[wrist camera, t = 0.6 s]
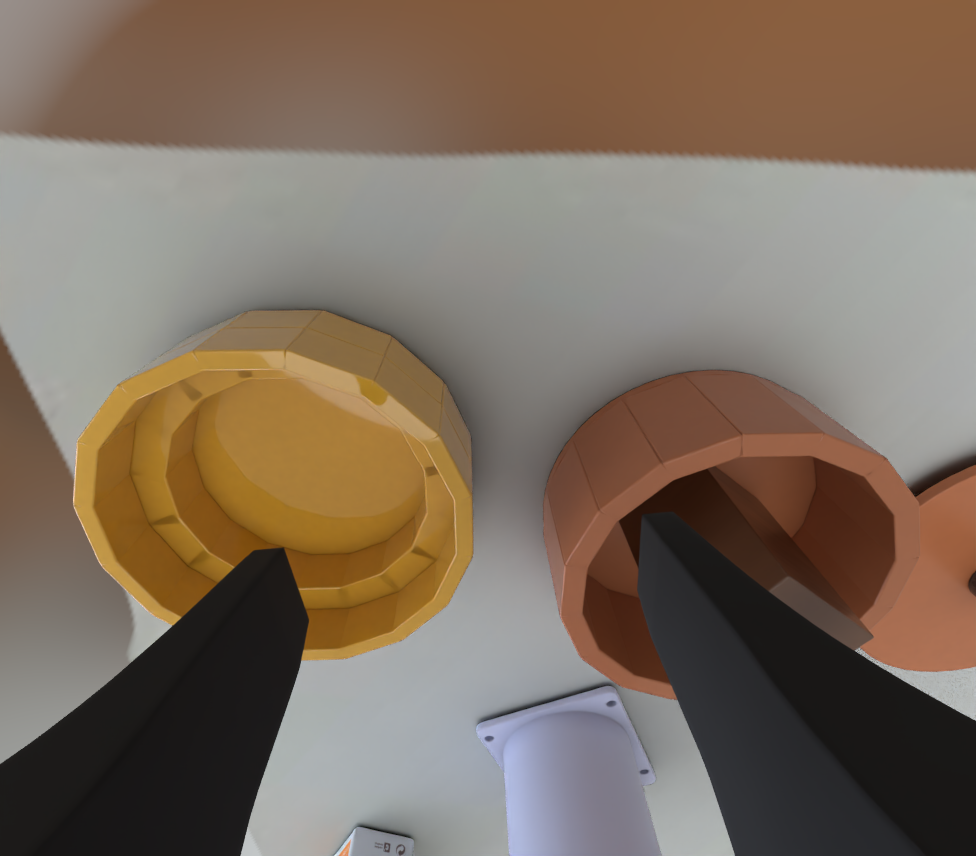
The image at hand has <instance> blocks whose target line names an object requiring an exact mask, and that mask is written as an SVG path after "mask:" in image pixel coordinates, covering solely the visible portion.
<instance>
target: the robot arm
mask: <svg viewBox="0 0 976 856" xmlns="http://www.w3.org/2000/svg"><path fill="white" fill-rule="evenodd" d="M637 591H638V595H639V598H640V602H641V605H642V609H643V612H644V616H645V619H646V623H647V626H648V629H649V632H650V636H651V639H652V641H653V643H654V646H655V648H656V651H657V653H658V655H659V658H660V660H661V663H662V665H663V667H664V670H665V672H666V674H667V677H668V679H669V681H670V684H671V686H672V688H673V691H674V693H675V695H676V698H677V700H678V702H679V705H680V707H681V709H682V712H683V714H684V716H685V719H686V721H687V723H688V726H689V728H690V730H691V733H692V735H693V737H694V740H695V742H696V744H697V747H698V749H699V751H700V754H701V756H702V759H703V762H704V764H705V767H706V769H707V772H708V775H709V777H710V780H711V783H712V786H713V789H714V792H715V795H716V798H717V801H718V804H719V807H720V810H721V813H722V816H723V819H724V822H725V825H726V828H727V831H728V835H729V838H730V841H731V844H732V847H733V850H734V853H735V856H976V721H975V720H973V719H971V718H969V717H967V716H965V715H964V714H962V713H960V712H958V711H956V710H954V709H953V708H951V707H949V706H947V705H945V704H944V703H942V702H940V701H938V700H936V699H935V698H933V697H931V696H929V695H928V694H926V693H924V692H922V691H920V690H919V689H917V688H915V687H913V686H911V685H910V684H908V683H906V682H904V681H903V680H901V679H899V678H898V677H896V676H894V675H893V674H891V673H889V672H888V671H886V670H884V669H882V668H881V667H879V666H878V665H876V664H874V663H873V662H871V661H870V660H868V659H866V658H865V657H863V656H862V655H860V654H859V653H857V652H855V651H854V650H852V649H851V648H849V647H848V646H846V645H844V644H843V643H841V642H840V641H838V640H837V639H835V638H833V637H832V636H830V635H829V634H828V633H826V632H825V631H823V630H822V629H820V628H819V627H817V626H816V625H814V624H813V623H811V622H810V621H809V620H807V619H806V618H804V617H803V616H802V615H800V614H799V613H798V612H796V611H795V610H793V609H792V608H791V607H789V606H788V605H786V604H785V603H784V602H782V601H781V600H780V599H778V598H777V597H776V596H774V595H773V594H772V593H770V592H769V591H768V590H766V589H765V588H764V587H762V586H761V585H760V584H759V583H757V582H756V581H755V580H754V579H752V578H751V577H750V576H749V575H747V574H746V573H745V572H744V571H742V570H741V569H740V568H739V567H737V566H736V565H735V564H734V563H733V562H731V561H730V560H729V559H728V558H726V557H725V556H724V555H723V554H722V553H721V552H719V551H718V550H717V549H716V548H715V547H714V546H712V545H711V544H710V543H709V542H708V541H706V540H705V539H704V538H703V537H702V536H701V535H699V534H698V533H697V532H696V531H695V530H694V529H693V528H691V527H690V526H689V525H688V524H687V523H686V522H684V521H683V520H682V519H681V518H680V517H679V516H677V515H676V514H675V513H674V512H662V513H651V514H642V522H641V537H640V553H639V568H638V584H637ZM308 624H309V618H308V615H307V612H306V609H305V606H304V603H303V600H302V598H301V595H300V592H299V589H298V586H297V583H296V581H295V578H294V575H293V572H292V569H291V566H290V563H289V561H288V558H287V555H286V552H285V549H284V547H282V548H271V549H261V550H254V551H252V552H251V553H250V554H249V555H248V556H247V557H245V558H244V559H243V560H242V561H241V562H240V563H239V564H238V565H237V566H236V567H235V568H233V569H232V570H231V571H230V572H229V573H228V574H227V575H226V576H225V577H224V578H223V579H222V580H221V581H220V582H219V583H218V584H217V585H216V586H215V587H213V588H212V589H211V590H210V591H209V592H208V593H207V594H206V595H205V596H204V597H203V598H202V599H201V600H200V601H199V602H198V603H197V604H196V605H194V606H193V607H192V608H191V609H190V610H189V611H188V612H187V613H186V614H185V615H184V616H183V617H182V618H181V619H179V620H178V621H177V622H176V623H175V624H174V625H173V626H172V627H171V628H170V629H169V630H168V631H167V632H166V633H164V634H163V635H162V636H161V637H160V638H159V639H158V640H156V641H155V642H154V643H153V644H152V645H151V646H150V647H148V648H147V649H146V650H145V651H144V652H143V653H142V654H140V655H139V656H138V657H137V658H136V659H135V660H134V661H132V662H131V663H130V664H129V665H128V666H127V667H126V668H124V669H123V670H122V671H121V672H120V673H119V674H118V675H116V676H115V677H114V678H113V679H112V680H111V681H109V682H108V683H107V684H106V685H105V686H103V687H102V688H101V689H100V690H98V691H97V692H96V693H95V694H93V695H92V696H91V697H90V698H88V699H87V700H86V701H85V702H84V703H82V704H81V705H80V706H79V707H77V708H76V709H75V710H73V711H72V712H71V713H69V714H68V715H67V716H66V717H64V718H63V719H62V720H60V721H59V722H58V723H56V724H55V725H54V726H52V727H51V728H50V729H49V730H47V731H46V732H45V733H43V734H42V735H41V736H39V737H38V738H36V739H35V740H34V741H33V742H31V743H30V744H28V745H27V746H25V747H24V748H23V749H21V750H20V751H18V752H17V753H16V754H14V755H13V756H11V757H10V758H9V759H7V760H6V761H4V762H3V763H1V764H0V856H240V855H241V851H242V847H243V843H244V839H245V835H246V831H247V827H248V823H249V819H250V816H251V812H252V809H253V806H254V802H255V799H256V796H257V792H258V789H259V786H260V783H261V780H262V778H263V775H264V772H265V769H266V766H267V763H268V760H269V757H270V754H271V751H272V748H273V746H274V743H275V740H276V737H277V734H278V731H279V728H280V725H281V722H282V719H283V716H284V714H285V711H286V708H287V705H288V702H289V699H290V696H291V693H292V690H293V687H294V684H295V681H296V678H297V674H298V671H299V668H300V663H301V659H302V654H303V650H304V645H305V640H306V634H307V629H308ZM476 731H477V735H478V737H479V738H480V740H481V741H482V742H483V744H484V745H485V747H486V748H487V749H488V751H489V752H490V754H491V755H492V756H493V758H494V759H495V761H496V762H497V763H498V765H499V766H500V768H501V769H502V770H503V772H504V777H505V794H506V810H507V827H508V843H509V856H662V854H661V851H660V847H659V844H658V840H657V836H656V833H655V829H654V825H653V822H652V818H651V815H650V811H649V807H648V804H647V800H646V797H645V793H644V789H643V786H646V785H649V784H652V783H654V782H655V781H656V776H655V772H654V770H653V768H652V766H651V764H650V762H649V759H648V757H647V755H646V753H645V751H644V749H643V746H642V744H641V742H640V740H639V738H638V736H637V733H636V731H635V729H634V727H633V725H632V723H631V721H630V718H629V716H628V714H627V712H626V710H625V708H624V705H623V703H622V701H621V699H620V697H619V695H618V692H617V690H616V689H615V688H614V687H612V686H604V687H601V688H597V689H594V690H590V691H587V692H584V693H580V694H577V695H573V696H570V697H566V698H563V699H559V700H556V701H553V702H549V703H546V704H542V705H539V706H535V707H532V708H529V709H525V710H522V711H518V712H515V713H511V714H508V715H504V716H501V717H498V718H494V719H491V720H487V721H484V722H481V723H479V724H478V725H477V727H476Z"/></svg>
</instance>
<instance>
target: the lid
mask: <svg viewBox="0 0 976 856" xmlns="http://www.w3.org/2000/svg"><path fill="white" fill-rule="evenodd" d="M915 498H916V499H917V500H918V502H919V511H920V556H919V559H918V561H917V563H916V565H915V567H914V569H913V571H912V572H911V574H910V576H909V578H908V580H907V582H906V584H905V586H904V588H903V590H902V592H901V594H900V596H899V598H898V600H897V602H896V604H895V606H894V607H893V609H892V610H891V611H890V612H889V613H888V614H887V615H886V616H885V617H883V618H882V619H881V620H880V621H879V622H878V623H877V624H876V625H875V626H874V627H873V628H872V629H871V630H870V632H871V633H872V635H873V636H874V638H873V639H871V640H870V641H868V642H867V643H865V644H864V645H862V646H861V647H860V648H861V649H862V650H863V651H865V652H866V653H867V654H868V655H869V656H871V657H873V658H875V659H876V660H878V661H880V662H882V663H885V664H887V665H890V666H893V667H897V668H901V669H905V670H913V671H929V672H938V671H952V670H959V669H965V668H972V667H976V465H974V466H971V467H969V468H967V469H964V470H962V471H960V472H958V473H956V474H954V475H952V476H949V477H948V478H946V479H944V480H942V481H941V482H939V483H937V484H935V485H933V486H932V487H930V488H928V489H927V490H925V491H924V492H922V493H921V494H919V495H918V496H916V497H915Z"/></svg>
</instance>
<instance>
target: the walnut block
mask: <svg viewBox="0 0 976 856" xmlns="http://www.w3.org/2000/svg"><path fill="white" fill-rule="evenodd" d="M662 512H674V513H675V514H676V515H677V516H679V517H680V518H681V519H682V520H683V521H684V522H686V523H687V524H688V525H689V526H690V527H691V528H693V529H694V530H695V531H696V532H697V533H698V534H699V535H701V536H702V537H703V538H704V539H705V540H706V541H708V542H709V543H710V544H711V545H712V546H714V547H715V548H716V549H717V550H718V551H719V552H721V553H722V554H723V555H724V556H725V557H726V558H728V559H729V560H730V561H731V562H733V563H734V564H735V565H736V566H737V567H739V568H740V569H741V570H742V571H744V572H745V573H746V574H747V575H749V576H750V577H751V578H752V579H754V580H755V581H756V582H757V583H759V584H760V585H761V586H762V587H764V588H765V589H766V590H768V591H769V592H770V593H772V594H773V595H774V596H776V597H777V598H778V599H780V600H781V601H782V602H784V603H785V604H786V605H788V606H789V607H791V608H792V609H793V610H795V611H796V612H798V613H799V614H800V615H802V616H803V617H804V618H806V619H807V620H809V621H810V622H811V623H813V624H814V625H816V626H817V627H819V628H820V629H822V630H823V631H825V632H826V633H828V634H829V635H830V636H832V637H833V638H835V639H837V640H838V641H840V642H841V643H843V644H844V645H846V646H848V647H849V648H851V649H852V650H856V649H857V648H859V647H861V646H862V645H864V644H865V643H867V642H868V641H870V640H871V639H873V638H874V636H873V635H872V633H871V632H870V631H869V630H868V629H867V628H866V626H865V625H864V624H863V623H862V622H861V620H860V619H859V618H858V617H857V616H856V614H855V613H854V612H853V611H852V610H851V609H850V607H849V606H848V605H847V604H846V603H845V601H844V600H843V599H842V598H841V597H840V595H839V594H838V593H837V592H836V591H835V589H834V588H833V587H832V586H831V585H830V584H829V582H828V581H827V580H826V579H825V578H824V576H823V575H822V574H821V573H820V572H819V570H818V569H817V568H816V567H815V566H814V565H813V563H812V562H811V561H810V560H809V559H808V557H807V556H806V555H805V554H804V553H803V551H802V550H801V549H800V548H799V547H798V546H797V544H796V543H795V542H794V541H793V540H792V538H791V537H790V536H789V535H788V534H787V532H786V531H785V530H784V529H783V528H782V527H781V525H780V524H779V523H778V522H777V521H776V519H775V518H774V517H773V516H772V515H771V513H770V512H769V511H768V510H767V509H766V508H765V506H764V505H763V504H762V503H761V502H760V500H759V499H758V498H756V497H755V496H754V495H752V494H751V493H750V492H748V491H747V490H746V489H744V488H743V487H742V486H741V485H739V484H738V483H737V482H735V481H734V480H733V479H731V478H730V477H729V476H727V475H726V474H725V473H724V472H722V471H721V470H720V469H718V468H717V467H716V466H713V467H710V468H708V469H705V470H702V471H699V472H696V473H693V474H690V475H687V476H684V477H681V478H679V479H676V480H673V481H672V482H670V483H669V484H668V485H666V486H665V487H664V488H662V489H661V490H660V491H658V492H657V493H655V494H654V495H653V496H651V497H650V498H649V499H647V500H646V501H645V502H643V503H642V504H641V505H639V506H638V507H637V508H635V509H634V510H632V511H631V512H630V513H628V514H627V515H626V516H624V517H623V518H622V519H620V520H619V523H620V525H621V528H622V530H623V533H624V535H625V538H626V540H627V542H628V545H629V547H630V550H631V552H632V555H633V557H634V559H635V562H636V564H637V567H638V568H639V553H640V537H641V522H642V514H651V513H662Z"/></svg>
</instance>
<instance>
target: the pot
mask: <svg viewBox="0 0 976 856" xmlns="http://www.w3.org/2000/svg"><path fill="white" fill-rule="evenodd" d="M713 466H716V467H717V468H718V469H720V470H721V471H722V472H724V473H725V474H726V475H727V476H729V477H730V478H731V479H733V480H734V481H735V482H737V483H738V484H739V485H741V486H742V487H743V488H744V489H746V490H747V491H748V492H750V493H751V494H752V495H754V496H755V497H756V498H758V499H759V500H760V502H761V503H762V504H763V505H764V506H765V508H766V509H767V510H768V511H769V512H770V513H771V515H772V516H773V517H774V518H775V519H776V521H777V522H778V523H779V524H780V525H781V527H782V528H783V529H784V530H785V531H786V532H787V534H788V535H789V536H790V537H791V538H792V540H793V541H794V542H795V543H796V544H797V546H798V547H799V548H800V549H801V550H802V551H803V553H804V554H805V555H806V556H807V557H808V559H809V560H810V561H811V562H812V563H813V565H814V566H815V567H816V568H817V569H818V570H819V572H820V573H821V574H822V575H823V576H824V578H825V579H826V580H827V581H828V582H829V584H830V585H831V586H832V587H833V588H834V589H835V591H836V592H837V593H838V594H839V595H840V597H841V598H842V599H843V600H844V601H845V603H846V604H847V605H848V606H849V607H850V609H851V610H852V611H853V612H854V613H855V614H856V616H857V617H858V618H859V619H860V620H861V622H862V623H863V624H864V625H865V626H866V628H867V629H868V630H869V631H870V630H871V629H872V628H873V627H874V626H875V625H876V624H877V623H878V622H879V621H880V620H881V619H882V618H883V617H885V616H886V615H887V614H888V613H889V612H890V611H891V610H892V609H893V607H894V606H895V604H896V602H897V600H898V598H899V596H900V594H901V592H902V590H903V588H904V586H905V584H906V582H907V580H908V578H909V576H910V574H911V572H912V571H913V569H914V567H915V565H916V563H917V561H918V559H919V556H920V511H919V502H918V500H917V499H916V498H915V496H914V495H913V494H912V492H911V491H910V489H909V488H908V487H907V485H906V484H905V483H904V481H903V480H902V479H901V477H900V476H899V474H898V473H897V472H896V470H895V469H894V468H893V466H892V465H891V464H890V462H889V461H888V459H887V458H885V457H884V456H883V455H881V454H880V453H878V452H877V451H876V450H874V449H873V448H872V447H870V446H869V445H867V444H866V443H865V442H863V441H862V440H861V439H859V438H858V437H856V436H855V435H854V434H852V433H851V432H850V431H848V430H847V429H845V428H844V427H843V426H841V425H840V424H839V423H837V422H836V421H834V420H833V419H832V418H830V417H829V416H828V415H826V414H825V413H823V412H822V411H821V410H819V409H818V408H817V407H815V406H814V405H813V404H811V403H810V402H808V401H807V400H806V399H804V398H803V397H801V396H799V395H797V394H794V393H792V392H790V391H788V390H786V389H785V388H783V387H781V386H779V385H777V384H775V383H773V382H771V381H769V380H766V379H763V378H760V377H757V376H754V375H751V374H745V373H740V372H735V371H720V370H706V371H693V372H686V373H681V374H676V375H671V376H667V377H664V378H661V379H658V380H654V381H651V382H648V383H646V384H644V385H642V386H639V387H637V388H635V389H633V390H630V391H628V392H627V393H625V394H623V395H621V396H620V397H618V398H616V399H615V400H613V401H611V402H610V403H608V404H607V405H606V406H604V407H603V408H602V409H600V410H599V411H598V412H596V413H595V414H594V415H593V416H592V417H591V418H589V419H588V420H587V421H586V422H585V423H584V424H583V425H582V426H581V427H580V428H579V429H578V430H577V431H576V433H575V434H574V435H573V436H572V437H571V439H570V440H569V441H568V442H567V444H566V445H565V447H564V448H563V450H562V452H561V453H560V455H559V456H558V458H557V460H556V462H555V464H554V466H553V469H552V471H551V473H550V476H549V479H548V482H547V486H546V489H545V495H544V502H543V520H544V531H543V535H544V540H545V545H546V550H547V555H548V559H549V564H550V569H551V574H552V579H553V584H554V589H555V594H556V599H557V604H558V609H559V614H560V618H561V620H562V622H563V624H564V626H565V628H566V630H567V632H568V634H569V636H570V638H571V640H572V642H573V644H574V646H575V648H576V650H577V652H578V654H579V656H580V657H581V658H582V660H584V661H585V662H587V663H588V664H589V665H591V666H592V667H594V668H595V669H596V670H598V671H599V672H601V673H602V674H603V675H605V676H606V677H608V678H609V679H610V680H612V681H613V682H615V683H616V684H618V685H619V686H621V687H624V688H628V689H632V690H636V691H639V692H643V693H647V694H651V695H655V696H659V697H663V698H667V699H674V700H677V698H676V695H675V693H674V691H673V688H672V686H671V684H670V681H669V679H668V677H667V674H666V672H665V670H664V667H663V665H662V663H661V660H660V658H659V655H658V653H657V651H656V648H655V646H654V643H653V641H652V639H651V636H650V632H649V629H648V626H647V623H646V619H645V616H644V612H643V609H642V605H641V602H640V598H639V595H638V591H637V584H638V567H637V564H636V562H635V559H634V557H633V555H632V552H631V550H630V547H629V545H628V542H627V540H626V538H625V535H624V533H623V530H622V528H621V525H620V523H619V520H620V519H622V518H623V517H624V516H626V515H627V514H628V513H630V512H631V511H632V510H634V509H635V508H637V507H638V506H639V505H641V504H642V503H643V502H645V501H646V500H647V499H649V498H650V497H651V496H653V495H654V494H655V493H657V492H658V491H660V490H661V489H662V488H664V487H665V486H666V485H668V484H669V483H670V482H672V481H673V480H676V479H679V478H681V477H684V476H687V475H690V474H693V473H696V472H699V471H702V470H705V469H708V468H710V467H713Z"/></svg>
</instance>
